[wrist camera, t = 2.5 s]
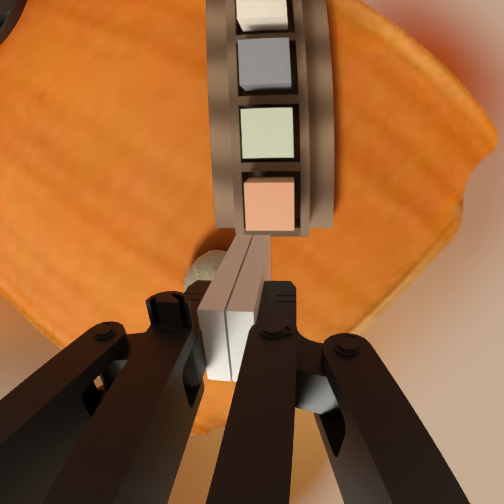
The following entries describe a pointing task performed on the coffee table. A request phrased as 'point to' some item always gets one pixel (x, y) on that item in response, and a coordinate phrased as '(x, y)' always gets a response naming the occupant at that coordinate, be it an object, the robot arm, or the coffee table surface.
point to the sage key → (267, 133)
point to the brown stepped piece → (298, 98)
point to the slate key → (264, 64)
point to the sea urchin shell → (204, 267)
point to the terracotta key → (269, 203)
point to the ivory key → (262, 15)
